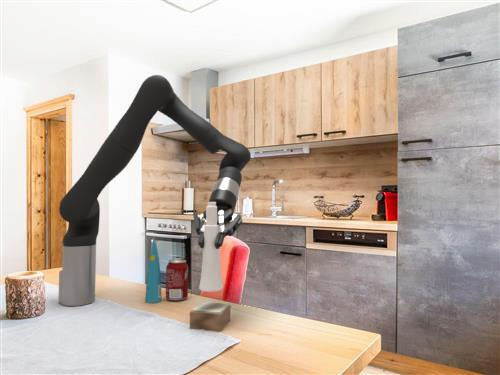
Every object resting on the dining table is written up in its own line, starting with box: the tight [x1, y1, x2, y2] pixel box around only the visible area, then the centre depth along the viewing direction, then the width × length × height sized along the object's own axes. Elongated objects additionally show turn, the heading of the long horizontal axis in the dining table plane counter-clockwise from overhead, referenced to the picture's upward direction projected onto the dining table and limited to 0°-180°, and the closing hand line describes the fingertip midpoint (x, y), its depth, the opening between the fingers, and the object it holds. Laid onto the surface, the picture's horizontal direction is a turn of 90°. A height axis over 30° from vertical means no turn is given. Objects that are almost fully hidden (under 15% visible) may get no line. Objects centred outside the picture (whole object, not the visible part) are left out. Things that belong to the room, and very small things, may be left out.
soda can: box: [165, 258, 189, 302], centre depth 116 cm, size 7×7×12 cm
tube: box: [144, 237, 163, 304], centre depth 113 cm, size 7×5×19 cm, turn 23°
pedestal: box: [189, 301, 232, 332], centre depth 93 cm, size 8×8×4 cm
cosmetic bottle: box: [198, 201, 224, 293], centre depth 94 cm, size 6×6×22 cm
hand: (209, 246), depth 92 cm, fingers closed on cosmetic bottle, 3 cm apart
